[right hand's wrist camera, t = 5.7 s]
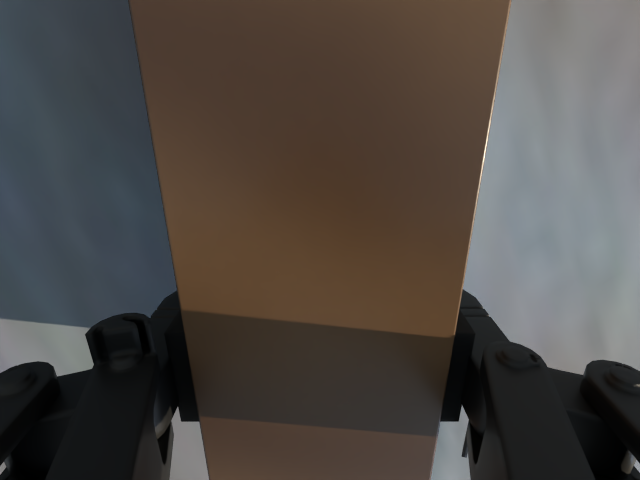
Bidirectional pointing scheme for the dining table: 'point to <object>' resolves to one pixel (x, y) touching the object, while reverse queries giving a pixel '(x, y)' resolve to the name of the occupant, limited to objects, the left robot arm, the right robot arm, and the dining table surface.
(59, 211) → the dining table surface
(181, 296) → the beam
